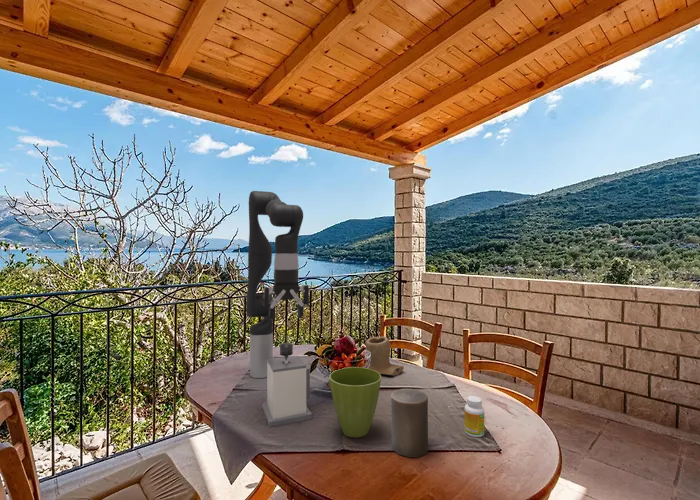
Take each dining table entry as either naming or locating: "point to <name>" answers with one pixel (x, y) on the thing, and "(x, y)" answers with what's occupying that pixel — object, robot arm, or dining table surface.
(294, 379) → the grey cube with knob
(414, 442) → the pillar candle
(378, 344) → the tan boot
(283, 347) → the plunger
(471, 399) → the supplement bottle
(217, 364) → the dining table surface
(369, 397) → the flower pot
